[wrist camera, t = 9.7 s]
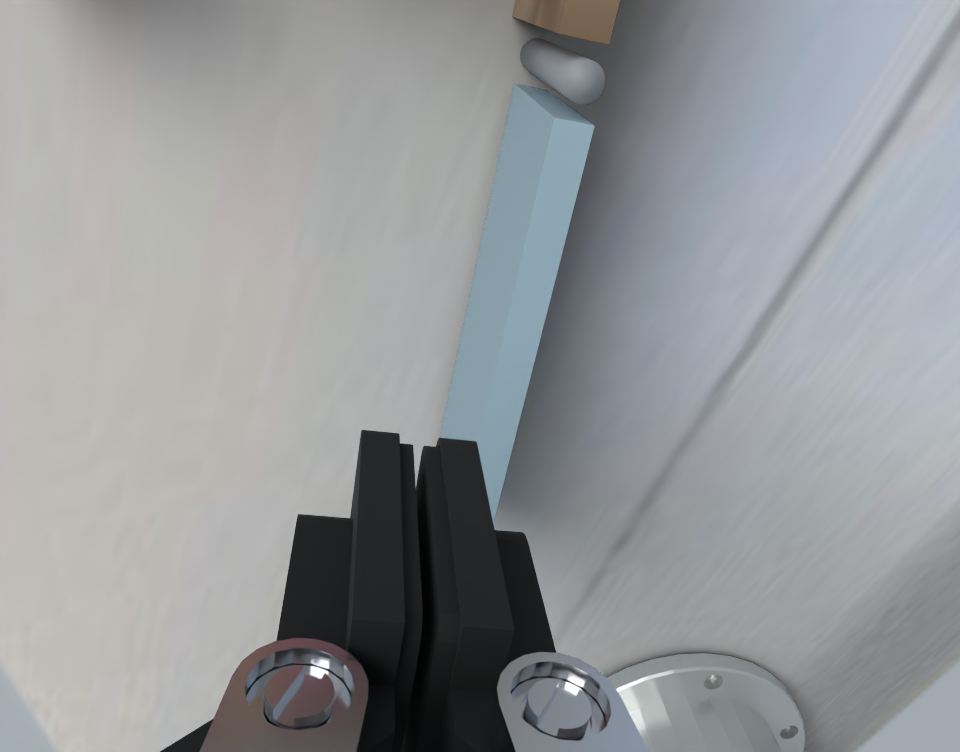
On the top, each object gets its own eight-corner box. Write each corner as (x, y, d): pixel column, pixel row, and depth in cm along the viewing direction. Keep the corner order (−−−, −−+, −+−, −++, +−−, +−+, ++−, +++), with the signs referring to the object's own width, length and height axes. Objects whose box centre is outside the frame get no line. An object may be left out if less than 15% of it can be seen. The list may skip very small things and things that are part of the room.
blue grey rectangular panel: (556, 41, 25) (610, 64, 19) (458, 473, 31) (477, 586, 25) (524, 34, 25) (568, 55, 19) (432, 470, 31) (445, 584, 25)
